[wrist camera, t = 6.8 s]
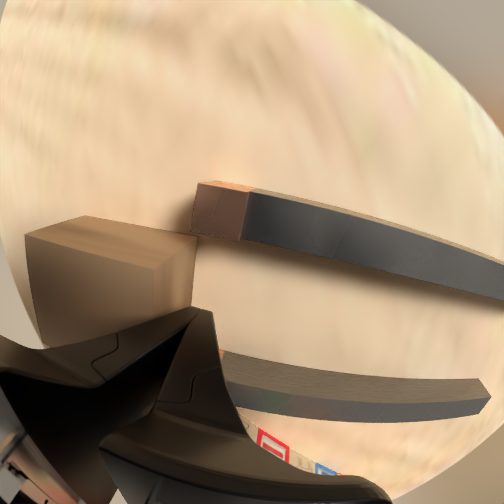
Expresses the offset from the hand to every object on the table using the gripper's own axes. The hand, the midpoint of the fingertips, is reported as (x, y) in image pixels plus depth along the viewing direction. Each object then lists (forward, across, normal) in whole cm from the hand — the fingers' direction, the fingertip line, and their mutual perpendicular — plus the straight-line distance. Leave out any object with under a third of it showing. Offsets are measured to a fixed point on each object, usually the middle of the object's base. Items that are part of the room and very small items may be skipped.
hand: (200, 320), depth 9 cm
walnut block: (+2, +4, 0) cm, 5 cm away
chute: (+3, -8, 0) cm, 9 cm away
